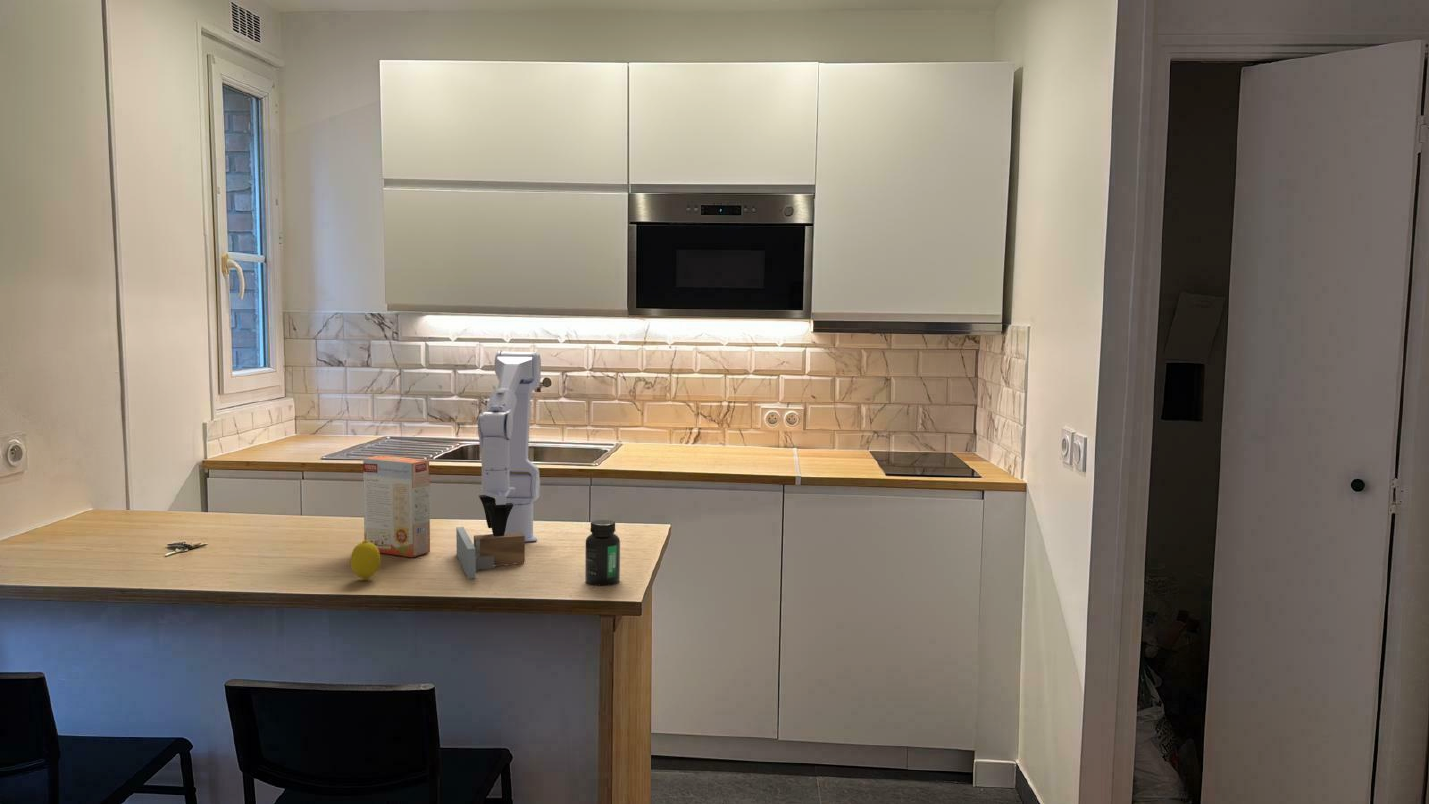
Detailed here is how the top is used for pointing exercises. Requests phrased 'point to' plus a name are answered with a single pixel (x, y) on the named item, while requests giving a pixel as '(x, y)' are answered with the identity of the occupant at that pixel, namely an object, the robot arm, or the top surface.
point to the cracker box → (397, 505)
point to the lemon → (365, 560)
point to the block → (501, 547)
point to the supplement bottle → (602, 554)
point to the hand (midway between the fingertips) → (495, 531)
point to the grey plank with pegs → (470, 555)
